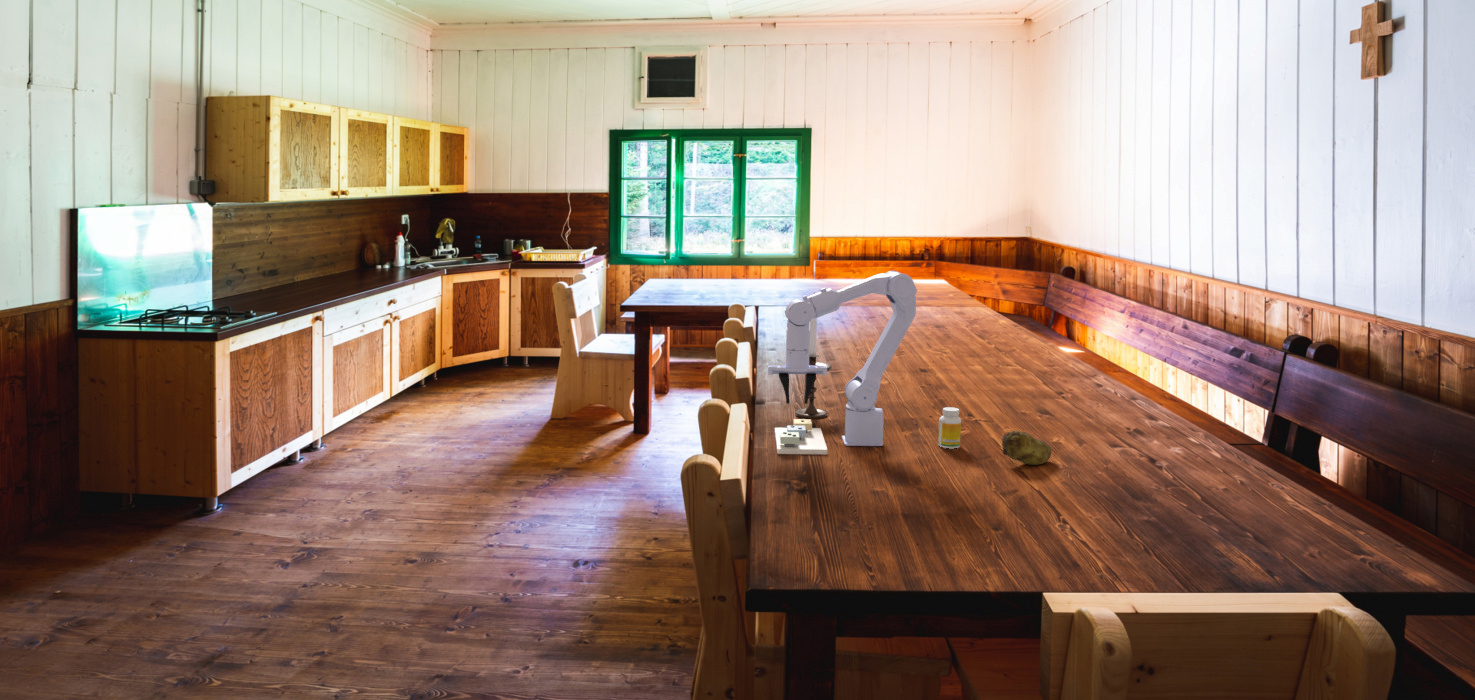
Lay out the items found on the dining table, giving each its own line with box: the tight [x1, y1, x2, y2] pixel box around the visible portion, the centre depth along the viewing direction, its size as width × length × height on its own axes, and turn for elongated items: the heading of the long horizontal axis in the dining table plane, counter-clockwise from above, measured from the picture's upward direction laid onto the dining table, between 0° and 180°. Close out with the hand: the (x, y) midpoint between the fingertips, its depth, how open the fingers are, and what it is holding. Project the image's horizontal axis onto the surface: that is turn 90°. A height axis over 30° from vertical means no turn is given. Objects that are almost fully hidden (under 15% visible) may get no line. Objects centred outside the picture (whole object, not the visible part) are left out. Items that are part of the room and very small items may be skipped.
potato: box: [1001, 430, 1053, 466], centre depth 207 cm, size 8×13×8 cm, turn 96°
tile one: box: [792, 418, 813, 430], centre depth 229 cm, size 4×4×2 cm
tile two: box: [786, 424, 806, 437], centre depth 223 cm, size 4×4×2 cm
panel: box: [774, 427, 828, 455], centre depth 224 cm, size 12×20×2 cm, turn 0°
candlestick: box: [794, 291, 833, 420], centre depth 249 cm, size 11×11×35 cm
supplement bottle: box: [937, 406, 962, 450], centre depth 221 cm, size 5×5×10 cm
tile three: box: [780, 432, 799, 444], centre depth 216 cm, size 4×4×2 cm
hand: (796, 402), depth 221 cm, fingers open, 4 cm apart
